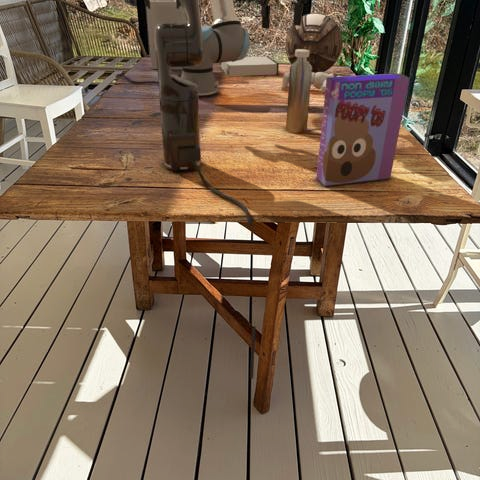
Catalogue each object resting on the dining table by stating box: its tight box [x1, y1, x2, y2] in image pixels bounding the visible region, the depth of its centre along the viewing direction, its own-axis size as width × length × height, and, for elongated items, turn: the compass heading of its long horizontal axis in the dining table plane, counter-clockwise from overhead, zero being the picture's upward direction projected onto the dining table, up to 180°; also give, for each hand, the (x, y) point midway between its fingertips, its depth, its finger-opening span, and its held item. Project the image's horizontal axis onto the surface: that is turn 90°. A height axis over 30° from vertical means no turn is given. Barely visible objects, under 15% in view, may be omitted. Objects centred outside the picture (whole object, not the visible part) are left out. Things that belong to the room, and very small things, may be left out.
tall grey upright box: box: [146, 0, 187, 71], centre depth 219 cm, size 19×15×28 cm
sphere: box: [284, 12, 344, 73], centre depth 209 cm, size 25×25×25 cm
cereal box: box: [315, 73, 410, 187], centre depth 109 cm, size 17×5×24 cm, turn 106°
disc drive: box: [220, 55, 280, 77], centre depth 217 cm, size 18×22×5 cm
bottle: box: [285, 57, 312, 134], centre depth 142 cm, size 6×6×23 cm
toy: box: [281, 71, 342, 93], centre depth 188 cm, size 24×25×7 cm
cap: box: [295, 49, 309, 57], centre depth 136 cm, size 4×4×2 cm
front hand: (163, 8), depth 144 cm, fingers open, 8 cm apart
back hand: (281, 26), depth 152 cm, fingers open, 13 cm apart
